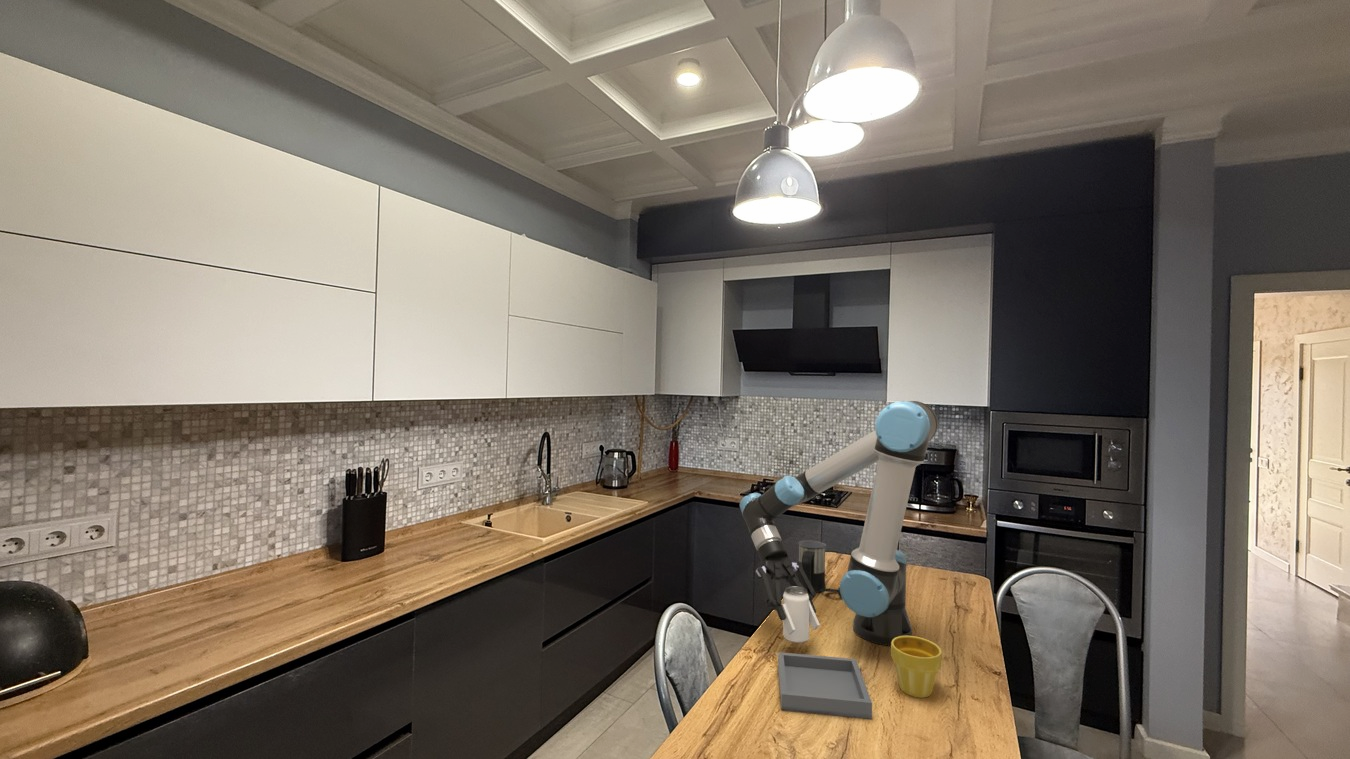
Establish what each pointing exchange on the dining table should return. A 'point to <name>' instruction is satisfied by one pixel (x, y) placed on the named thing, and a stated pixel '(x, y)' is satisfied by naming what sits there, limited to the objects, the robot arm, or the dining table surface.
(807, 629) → the can
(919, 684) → the plant pot
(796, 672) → the tray
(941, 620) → the dining table surface
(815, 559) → the milk frother
